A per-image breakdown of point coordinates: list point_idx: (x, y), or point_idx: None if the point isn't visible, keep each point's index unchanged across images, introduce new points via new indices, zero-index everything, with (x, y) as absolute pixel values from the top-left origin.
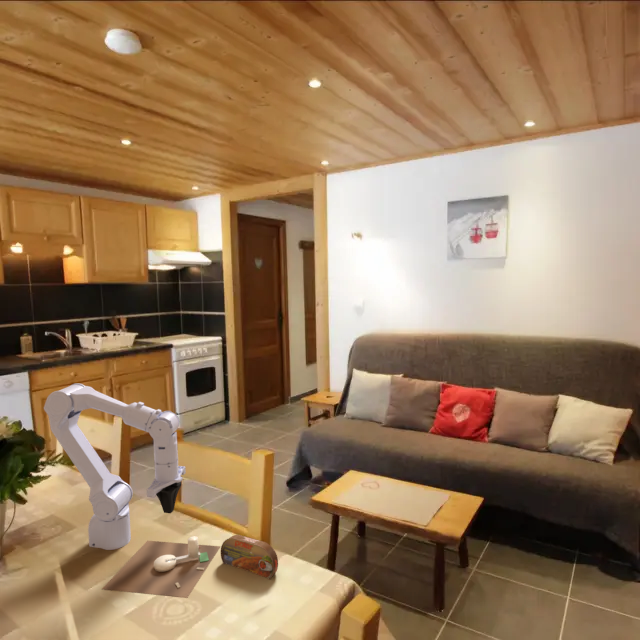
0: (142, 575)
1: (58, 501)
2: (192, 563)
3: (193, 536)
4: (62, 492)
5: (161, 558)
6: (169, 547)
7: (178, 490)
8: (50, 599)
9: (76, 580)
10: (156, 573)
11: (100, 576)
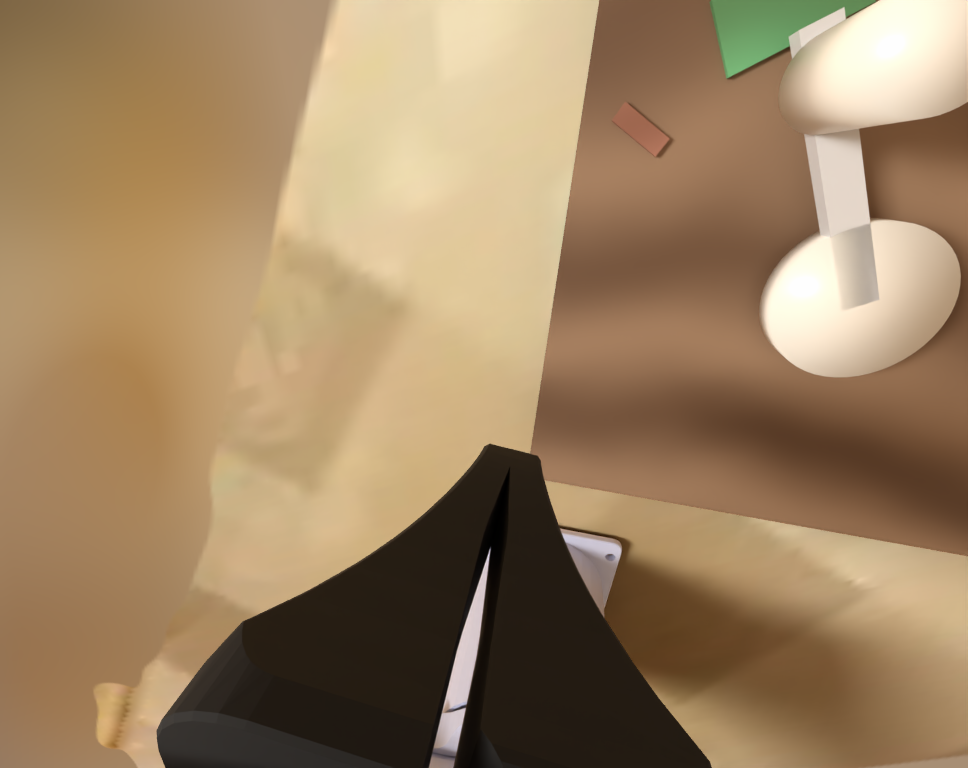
0: (912, 403)
1: None
2: None
3: (874, 62)
4: None
5: (815, 342)
6: (603, 341)
7: (355, 579)
8: (895, 678)
9: (777, 637)
10: None
11: (768, 572)
